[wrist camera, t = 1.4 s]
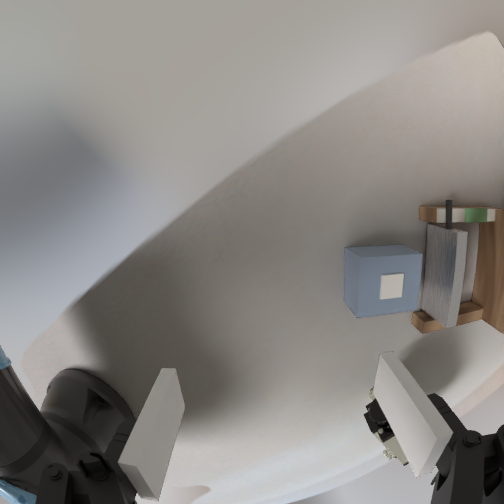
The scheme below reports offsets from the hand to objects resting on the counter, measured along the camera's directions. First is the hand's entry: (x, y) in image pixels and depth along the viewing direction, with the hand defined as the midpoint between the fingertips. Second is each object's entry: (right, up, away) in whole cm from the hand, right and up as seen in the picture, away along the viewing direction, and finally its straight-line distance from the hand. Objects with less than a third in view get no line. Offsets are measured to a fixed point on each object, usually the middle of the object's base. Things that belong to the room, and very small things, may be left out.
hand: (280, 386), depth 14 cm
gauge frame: (+24, +5, +17) cm, 30 cm away
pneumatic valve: (+16, -13, +21) cm, 30 cm away
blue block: (+12, +5, +17) cm, 22 cm away
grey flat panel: (+20, +6, +16) cm, 26 cm away
